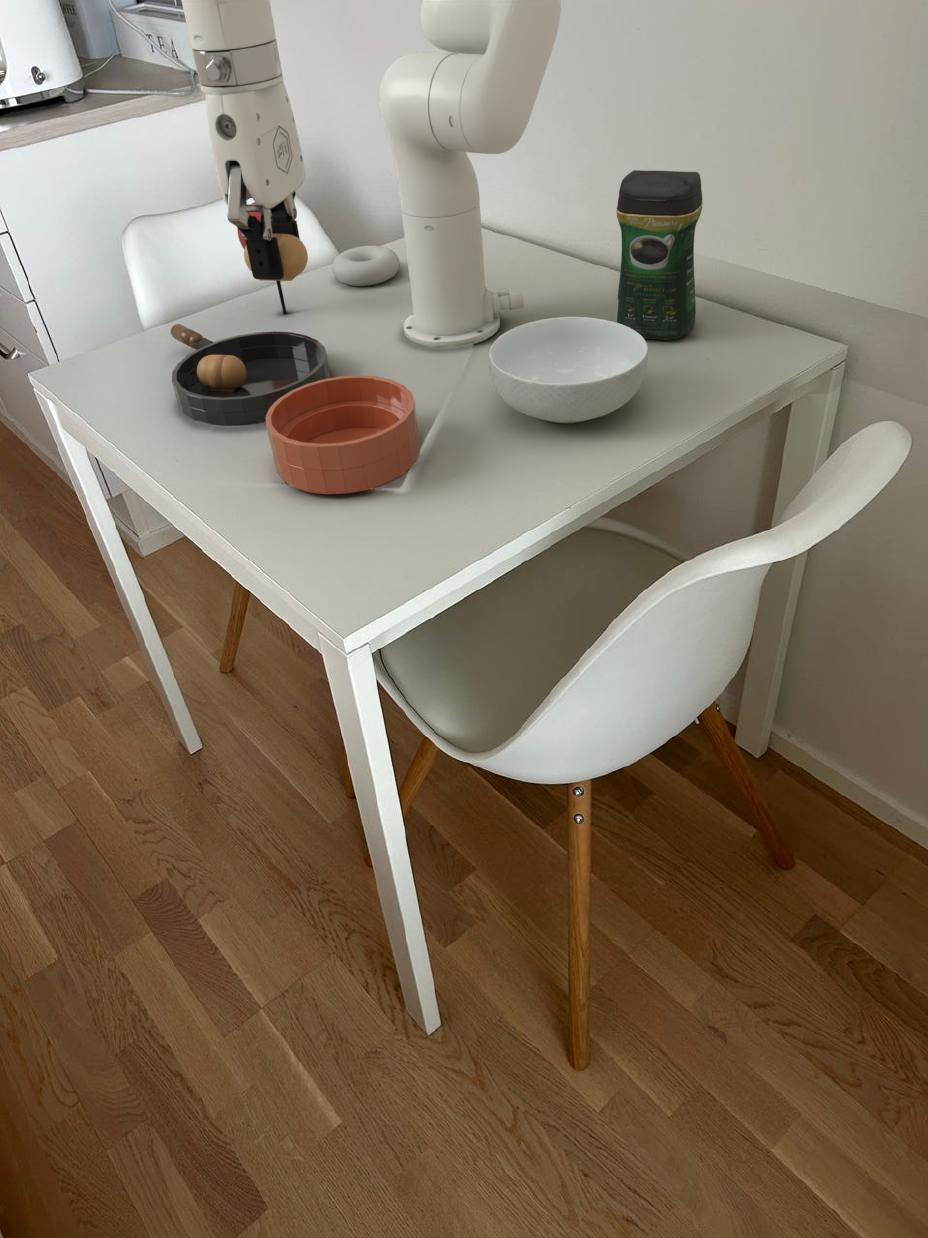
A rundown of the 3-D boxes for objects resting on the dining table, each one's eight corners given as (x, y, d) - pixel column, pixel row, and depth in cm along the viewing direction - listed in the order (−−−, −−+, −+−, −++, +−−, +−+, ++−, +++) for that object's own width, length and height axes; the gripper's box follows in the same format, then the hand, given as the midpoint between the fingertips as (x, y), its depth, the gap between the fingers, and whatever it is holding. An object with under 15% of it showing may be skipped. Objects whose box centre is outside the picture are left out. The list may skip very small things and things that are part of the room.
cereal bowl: (533, 460, 99) (531, 397, 95) (468, 397, 111) (463, 338, 107) (675, 418, 103) (679, 355, 99) (598, 361, 116) (598, 303, 111)
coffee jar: (700, 319, 122) (712, 162, 110) (684, 345, 117) (695, 183, 105) (626, 313, 126) (630, 160, 114) (607, 337, 120) (609, 180, 109)
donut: (325, 290, 141) (391, 289, 139) (321, 266, 139) (387, 265, 137) (345, 265, 149) (408, 263, 146) (341, 242, 146) (405, 240, 144)
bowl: (408, 415, 109) (401, 365, 105) (432, 483, 97) (426, 430, 93) (273, 438, 107) (262, 389, 103) (282, 510, 96) (269, 457, 92)
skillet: (323, 350, 125) (318, 322, 122) (339, 413, 111) (333, 383, 108) (181, 374, 123) (173, 345, 120) (179, 441, 109) (169, 410, 106)
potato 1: (254, 380, 118) (247, 349, 115) (241, 395, 115) (234, 364, 112) (209, 379, 119) (201, 348, 117) (196, 394, 116) (187, 363, 114)
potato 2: (317, 269, 100) (310, 227, 97) (301, 284, 97) (294, 242, 94) (259, 268, 102) (250, 227, 99) (242, 283, 99) (232, 241, 96)
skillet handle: (221, 354, 121) (217, 339, 120) (207, 359, 120) (203, 344, 119) (183, 334, 127) (179, 320, 126) (170, 339, 126) (166, 325, 125)
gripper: (237, 85, 80) (280, 301, 92) (311, 47, 93) (341, 241, 104) (156, 88, 82) (209, 300, 94) (240, 50, 94) (277, 241, 106)
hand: (278, 267), depth 99 cm, fingers closed on potato 2, 4 cm apart
